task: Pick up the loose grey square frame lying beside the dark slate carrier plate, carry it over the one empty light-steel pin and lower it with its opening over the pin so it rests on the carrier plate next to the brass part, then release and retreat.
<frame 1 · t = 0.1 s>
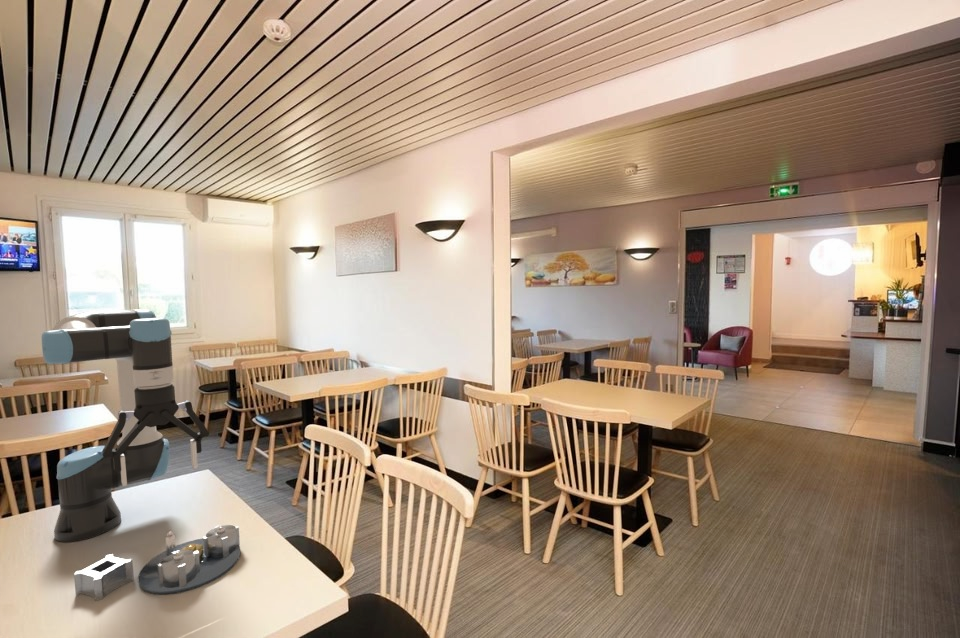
hand: (161, 475, 107), 28 cm above the table, fingers open, 13 cm apart
carrier: (192, 565, 117), on the table
grey square frame: (105, 586, 109), on the table
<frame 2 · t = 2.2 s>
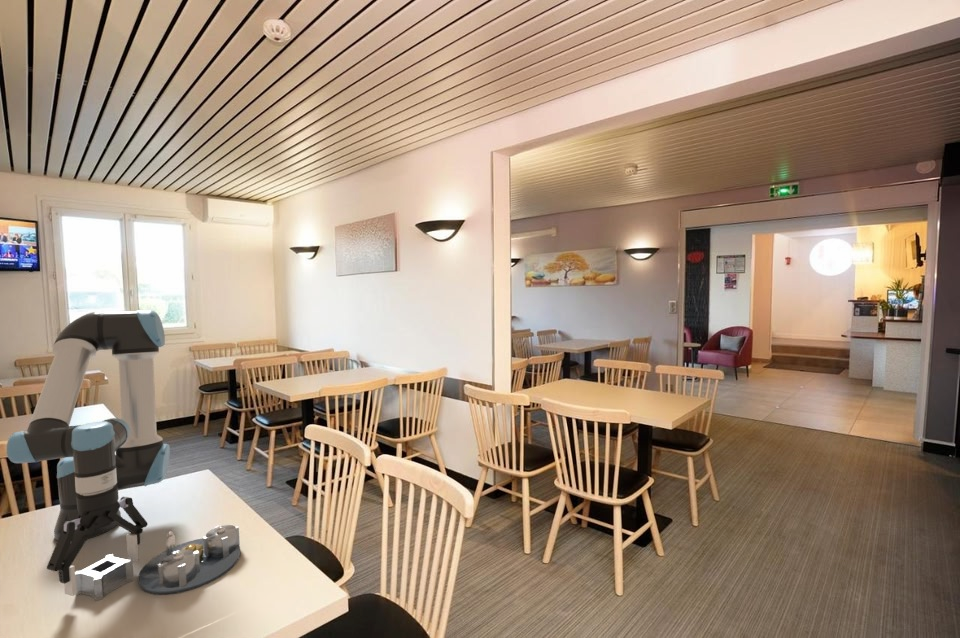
hand: (103, 575, 109), 3 cm above the table, fingers open, 13 cm apart
nothing on the table moved.
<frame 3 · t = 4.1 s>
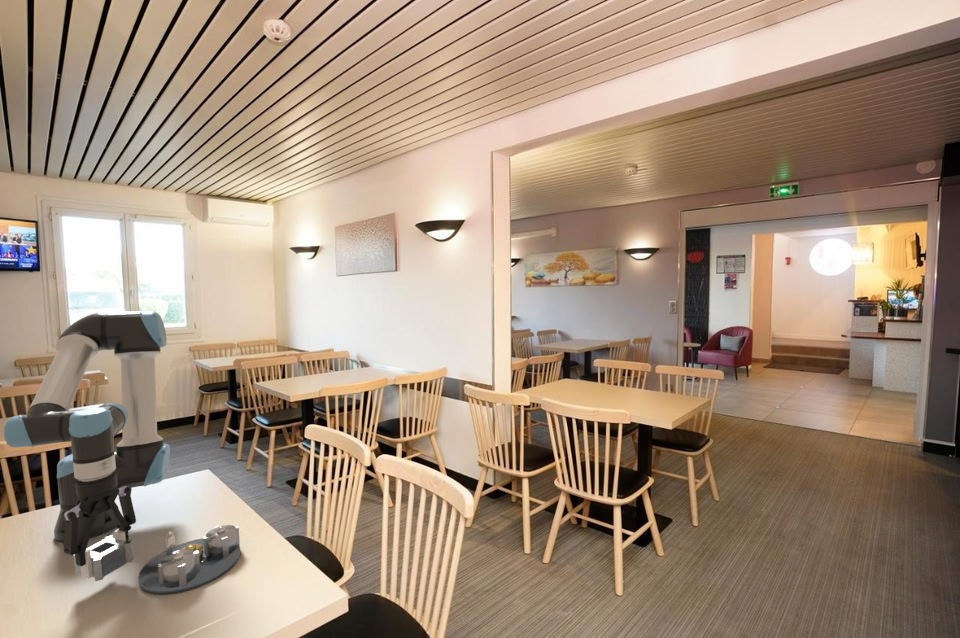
hand: (105, 565, 110), 5 cm above the table, fingers closed on grey square frame, 7 cm apart
grey square frame: (105, 566, 110), point 4 cm above the table, touching gripper
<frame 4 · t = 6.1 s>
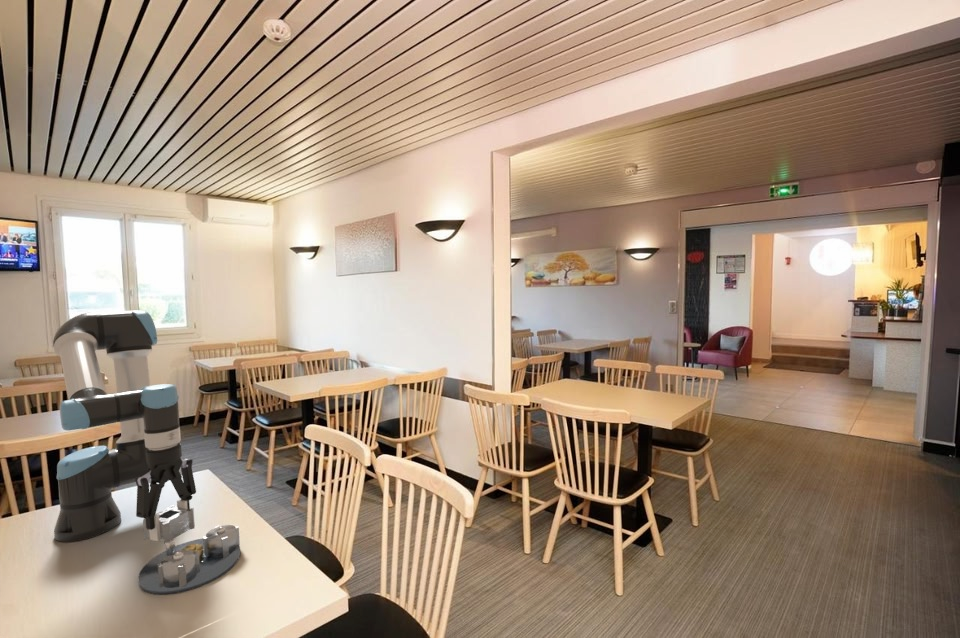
hand: (169, 531, 118), 8 cm above the table, fingers closed on grey square frame, 7 cm apart
grey square frame: (170, 532, 118), point 8 cm above the table, touching gripper
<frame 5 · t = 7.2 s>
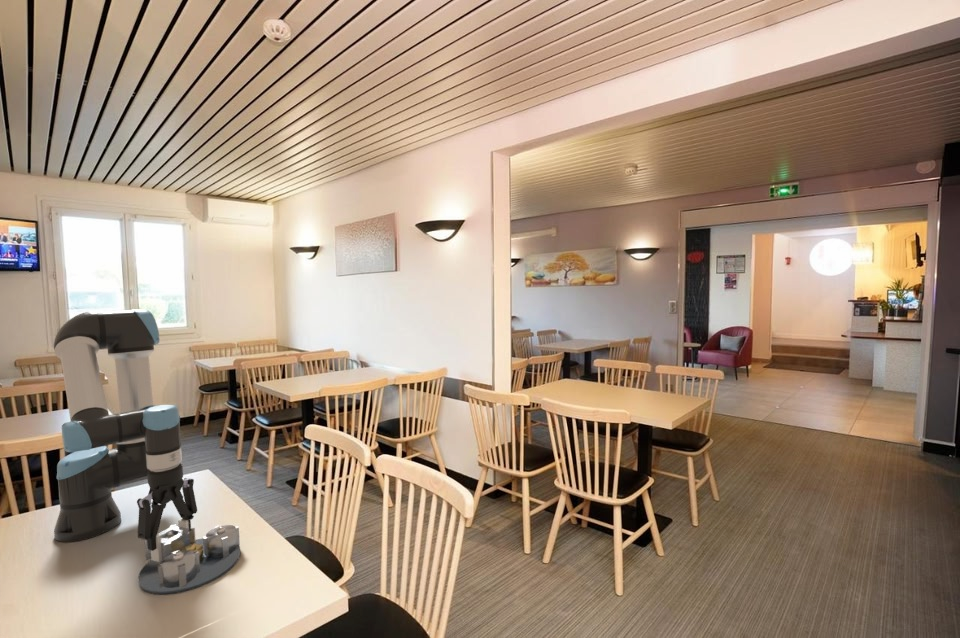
hand: (171, 551, 119), 3 cm above the table, fingers closed on grey square frame, 7 cm apart
grey square frame: (171, 552, 119), point 2 cm above the table, touching gripper
when the fingers open (2 cm above the table, at t = 8.0 s): grey square frame stays where it is, resting on carrier.
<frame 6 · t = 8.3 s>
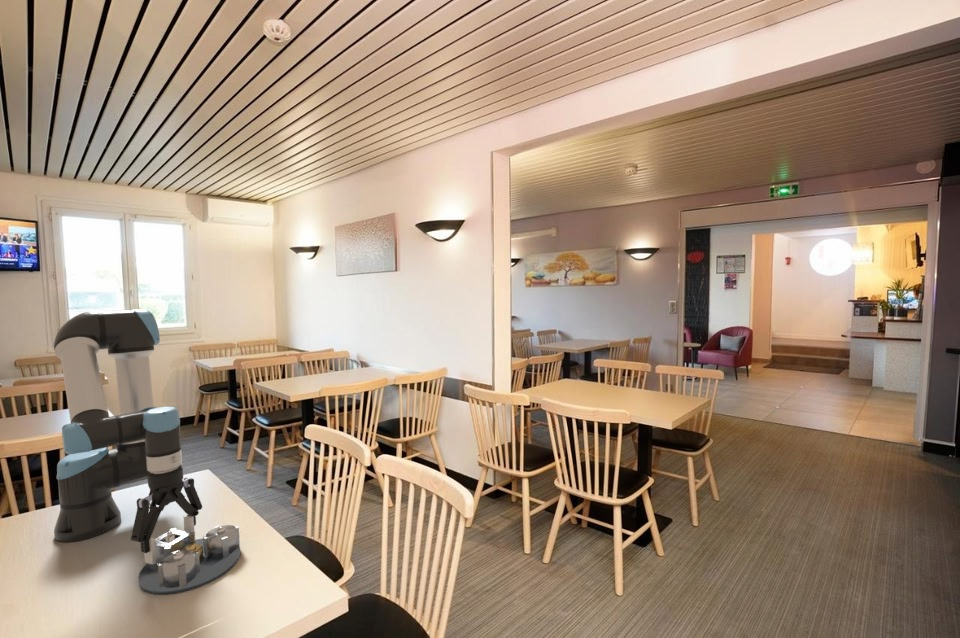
hand: (171, 550, 119), 3 cm above the table, fingers open, 10 cm apart
grey square frame: (171, 556, 119), point 1 cm above the table, touching carrier
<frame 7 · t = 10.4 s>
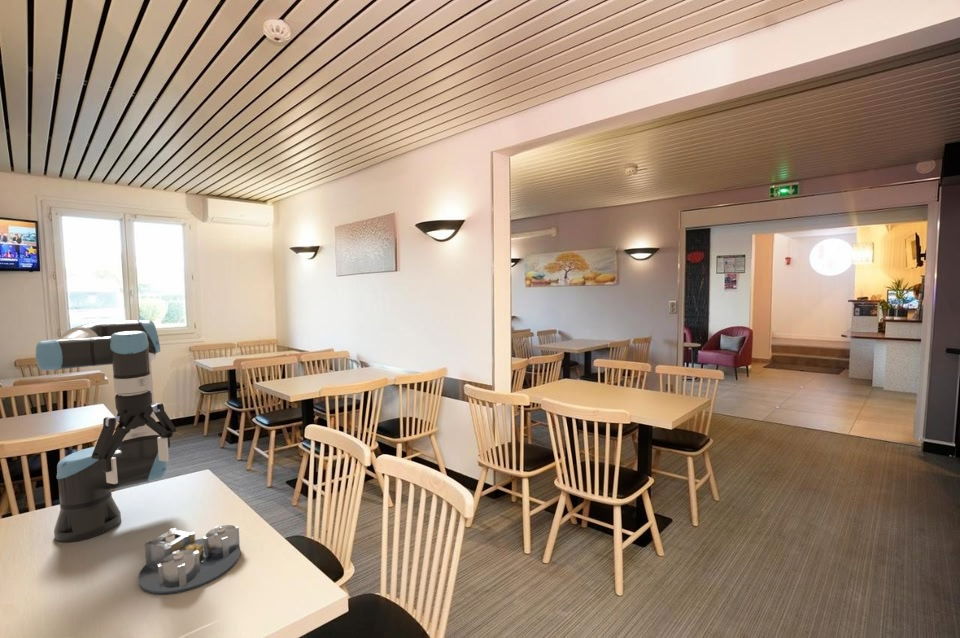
hand: (139, 471, 119), 24 cm above the table, fingers open, 13 cm apart
nothing on the table moved.
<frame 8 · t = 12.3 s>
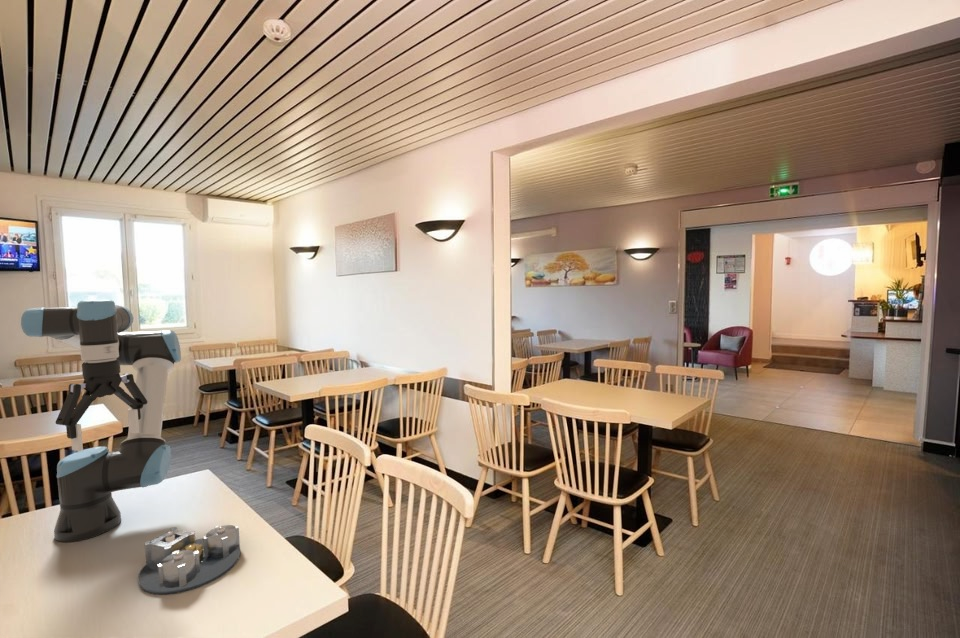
hand: (107, 441, 119), 32 cm above the table, fingers open, 13 cm apart
nothing on the table moved.
at the end: grey square frame 0.1 cm from the target spot on the carrier, point 1.2 cm above the carrier's base; grey square frame tilted 0°; the gripper is holding nothing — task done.
